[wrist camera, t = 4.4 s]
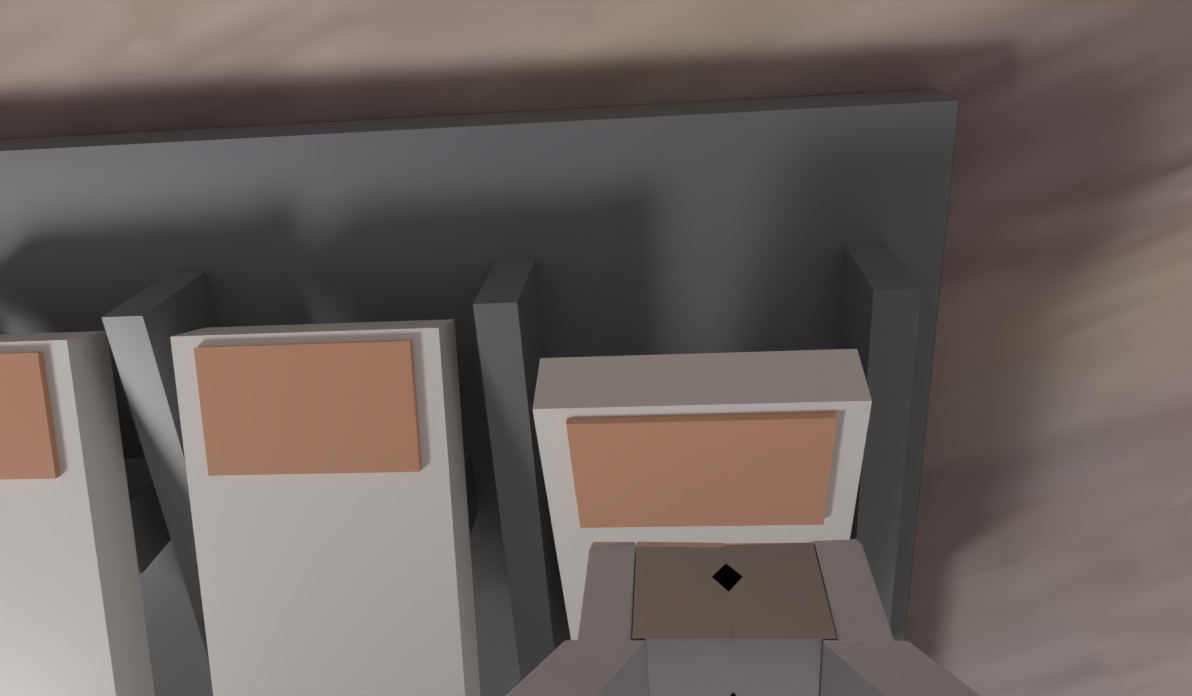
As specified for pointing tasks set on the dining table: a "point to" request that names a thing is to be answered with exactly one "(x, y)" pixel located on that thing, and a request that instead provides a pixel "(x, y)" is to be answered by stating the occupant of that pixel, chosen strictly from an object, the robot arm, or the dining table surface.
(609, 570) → the robot arm
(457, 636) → the switch middle
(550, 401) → the switch near
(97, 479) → the switch far
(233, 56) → the dining table surface
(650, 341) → the switch unit
